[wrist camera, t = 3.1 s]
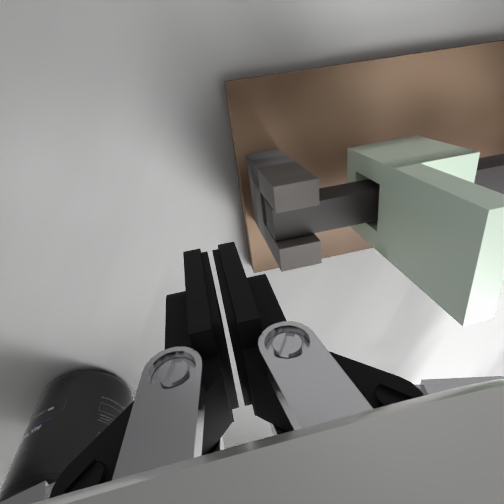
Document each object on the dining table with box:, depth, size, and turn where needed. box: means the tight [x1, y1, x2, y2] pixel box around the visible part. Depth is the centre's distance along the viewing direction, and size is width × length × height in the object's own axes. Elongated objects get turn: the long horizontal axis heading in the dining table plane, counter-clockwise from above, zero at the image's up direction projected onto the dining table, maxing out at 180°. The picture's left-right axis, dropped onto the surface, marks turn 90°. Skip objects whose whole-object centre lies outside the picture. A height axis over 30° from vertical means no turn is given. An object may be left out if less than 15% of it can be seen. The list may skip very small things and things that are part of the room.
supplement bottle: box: [0, 370, 133, 502], centre depth 22 cm, size 7×7×12 cm
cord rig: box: [224, 40, 504, 273], centre depth 20 cm, size 12×27×9 cm, turn 97°
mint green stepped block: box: [347, 136, 504, 326], centre depth 15 cm, size 4×4×9 cm
